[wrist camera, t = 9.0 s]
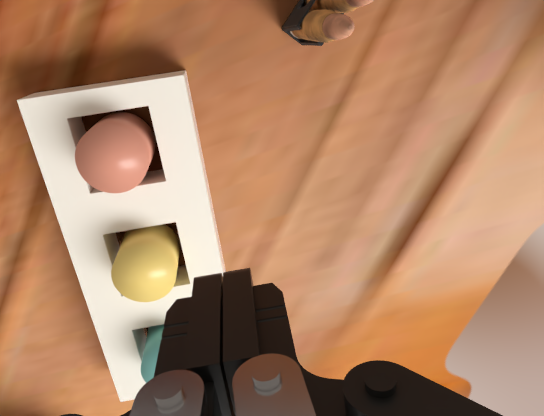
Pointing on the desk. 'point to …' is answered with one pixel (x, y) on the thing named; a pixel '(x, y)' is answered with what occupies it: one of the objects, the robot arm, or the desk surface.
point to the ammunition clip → (321, 20)
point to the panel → (126, 205)
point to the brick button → (115, 152)
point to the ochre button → (146, 263)
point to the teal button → (151, 352)
